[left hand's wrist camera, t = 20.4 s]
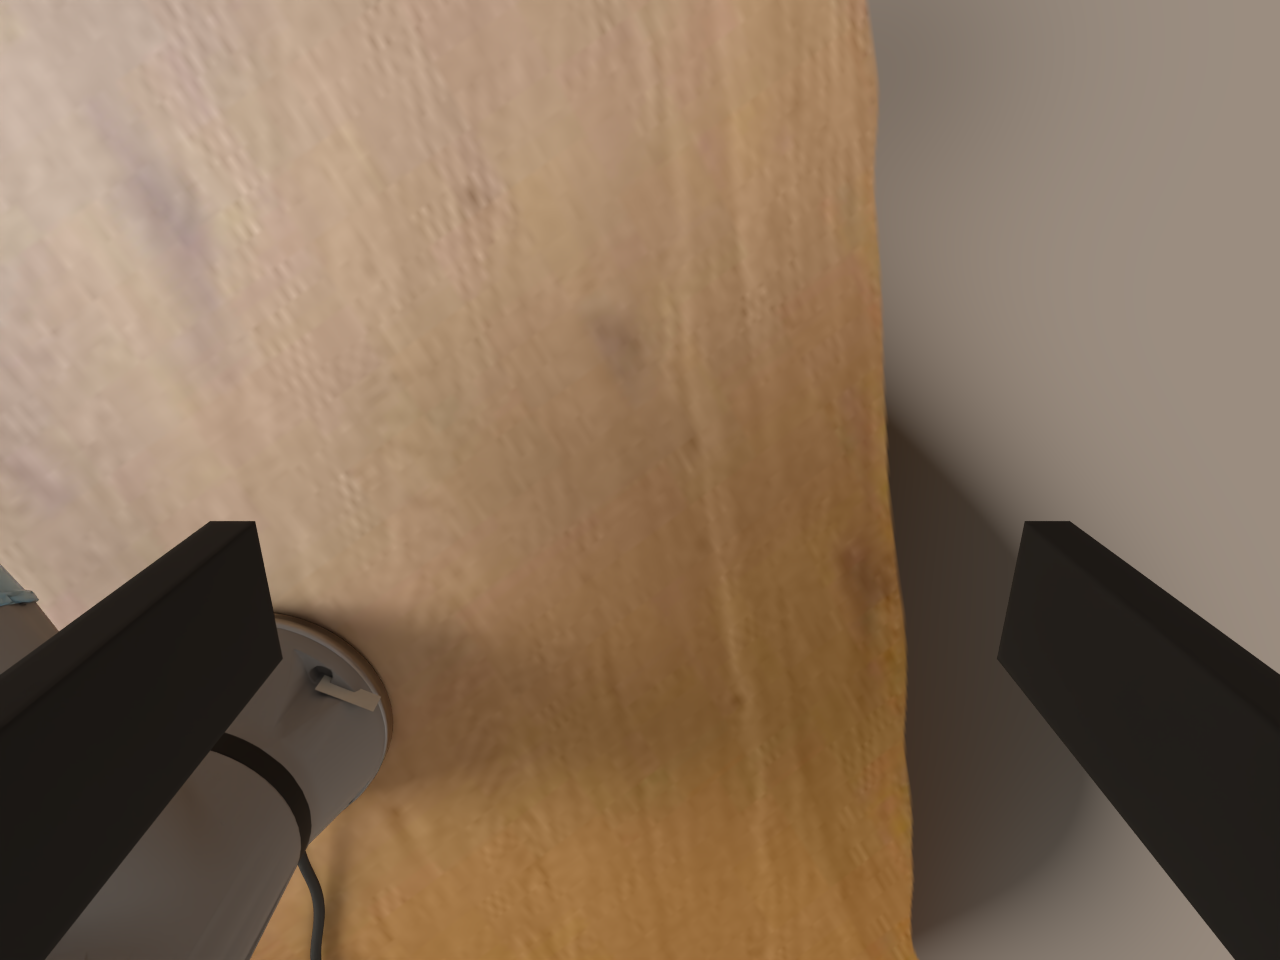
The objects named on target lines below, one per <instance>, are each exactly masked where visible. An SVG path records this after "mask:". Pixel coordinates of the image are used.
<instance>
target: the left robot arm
mask: <svg viewBox="0 0 1280 960" xmlns="http://www.w3.org/2000/svg"><path fill="white" fill-rule="evenodd" d="M38 600H39V599H38V598H37V597H36V595H35V594H34V593H33V592H32V591H29V590H24V588H23V587H22V586H21V585H20V584H19V583H18V582H17V581H16V580H15V579H14V578H13V577H12V576H11V575H10V574H9V573H8V572H7V571H6V570H5V569H4V568H3V566H2V565H1V564H0V960H250V958H251V956H252V954H253V952H254V950H255V948H256V946H257V944H258V942H259V940H260V938H261V936H262V934H263V932H264V930H265V928H266V926H267V925H268V923H269V921H270V919H271V917H272V915H273V913H274V911H275V909H276V907H277V905H278V903H279V901H280V899H281V897H282V895H283V893H284V891H285V889H286V887H287V885H288V883H289V881H290V879H291V877H292V875H293V873H294V871H295V869H296V867H297V865H298V866H299V868H300V871H301V873H302V875H303V877H304V879H305V881H306V883H307V885H308V887H309V890H310V893H311V896H312V901H313V908H314V922H313V932H312V940H311V952H310V958H311V960H321V944H322V935H323V928H324V918H325V907H324V898H323V893H322V889H321V886H320V884H319V881H318V879H317V877H316V875H315V873H314V870H313V868H312V866H311V864H310V862H309V859H308V857H307V854H306V851H305V850H306V848H307V846H308V845H309V844H310V843H311V842H312V841H313V840H314V839H315V838H316V837H317V836H318V835H319V834H320V833H321V832H322V831H323V830H324V829H325V828H326V827H327V826H328V825H329V824H330V823H331V822H332V821H333V820H334V819H335V818H336V817H337V816H338V815H339V814H340V813H341V812H342V811H343V810H344V809H345V808H346V807H347V806H349V805H350V804H351V803H352V802H354V801H355V800H356V799H357V798H358V797H359V796H360V795H361V794H362V793H363V792H364V791H365V789H366V788H367V787H368V785H369V784H370V783H371V781H372V780H373V779H374V777H375V775H376V774H377V772H378V770H379V768H380V766H381V764H382V762H383V760H384V758H385V755H386V753H387V751H388V749H389V745H390V742H391V738H392V731H393V717H392V709H391V704H390V701H389V698H388V695H387V692H386V690H385V688H384V685H383V683H382V682H381V680H380V678H379V676H378V675H377V673H376V672H375V671H374V669H373V668H372V666H371V665H370V664H369V663H368V662H367V661H366V659H365V658H364V657H363V656H362V655H361V654H360V653H359V652H358V651H357V650H355V649H354V648H353V647H352V646H351V645H349V644H348V643H347V642H345V641H344V640H343V639H341V638H340V637H338V636H337V635H335V634H333V633H332V632H330V631H328V630H326V629H324V628H322V627H320V626H318V625H316V624H313V623H311V622H308V621H305V620H303V619H299V618H296V617H292V616H288V615H283V614H277V613H274V612H273V607H272V602H271V597H270V592H269V587H268V582H267V577H266V573H265V568H264V563H263V558H262V553H261V548H260V543H259V538H258V533H257V528H256V523H255V521H210V522H208V523H207V524H206V525H204V526H203V527H202V528H200V529H199V530H198V531H196V532H195V533H193V534H192V535H191V536H189V537H188V538H187V539H185V540H184V541H182V542H181V543H180V544H178V545H177V546H176V547H174V548H173V549H172V550H170V551H169V552H167V553H166V554H165V555H163V556H162V557H161V558H159V559H158V560H156V561H155V562H154V563H152V564H151V565H150V566H148V567H147V568H146V569H144V570H143V571H141V572H140V573H139V574H137V575H136V576H135V577H133V578H132V579H130V580H129V581H128V582H126V583H125V584H124V585H122V586H121V587H120V588H118V589H117V590H115V591H114V592H113V593H111V594H110V595H109V596H107V597H106V598H104V599H103V600H102V601H100V602H99V603H98V604H96V605H95V606H94V607H92V608H91V609H89V610H88V611H87V612H85V613H84V614H83V615H81V616H80V617H78V618H77V619H76V620H74V621H73V622H72V623H70V624H69V625H68V626H66V627H65V628H63V629H62V630H61V631H58V630H57V628H56V627H55V626H54V625H53V623H52V622H51V621H50V620H49V618H48V617H47V616H46V615H45V613H44V612H43V611H42V610H41V608H40V607H39V606H38V604H37V603H36V602H37V601H38ZM997 659H998V661H999V662H1000V663H1001V664H1002V666H1003V667H1004V668H1005V669H1006V671H1007V672H1008V673H1009V674H1010V676H1011V677H1012V678H1013V680H1014V681H1015V682H1016V683H1017V685H1018V686H1019V687H1020V688H1021V690H1022V691H1023V692H1024V693H1025V695H1026V696H1027V697H1028V698H1029V700H1030V701H1031V702H1032V704H1033V705H1034V706H1035V707H1036V709H1037V710H1038V711H1039V712H1040V714H1041V715H1042V716H1043V717H1044V719H1045V720H1046V721H1047V723H1048V724H1049V725H1050V726H1051V728H1052V729H1053V730H1054V731H1055V733H1056V734H1057V735H1058V736H1059V738H1060V739H1061V740H1062V741H1063V743H1064V744H1065V745H1066V746H1067V748H1068V749H1069V750H1070V752H1071V753H1072V754H1073V755H1074V757H1075V758H1076V759H1077V760H1078V762H1079V763H1080V764H1081V766H1082V767H1083V768H1084V769H1085V771H1086V772H1087V773H1088V774H1089V776H1090V777H1091V778H1092V779H1093V781H1094V782H1095V783H1096V784H1097V786H1098V787H1099V788H1100V789H1101V791H1102V792H1103V793H1104V795H1105V796H1106V797H1107V798H1108V800H1109V801H1110V802H1111V803H1112V805H1113V806H1114V807H1115V809H1116V810H1117V811H1118V812H1119V814H1120V815H1121V816H1122V817H1123V819H1124V820H1125V821H1126V822H1127V824H1128V825H1129V826H1130V827H1131V829H1132V830H1133V831H1134V833H1135V834H1136V835H1137V836H1138V838H1139V839H1140V840H1141V841H1142V843H1143V844H1144V845H1145V846H1146V848H1147V849H1148V850H1149V852H1150V853H1151V854H1152V855H1153V857H1154V858H1155V859H1156V860H1157V862H1158V863H1159V864H1160V865H1161V867H1162V868H1163V869H1164V870H1165V872H1166V873H1167V874H1168V876H1169V877H1170V878H1171V879H1172V881H1173V882H1174V883H1175V884H1176V886H1177V887H1178V888H1179V889H1180V891H1181V892H1182V893H1183V894H1184V896H1185V897H1186V898H1187V900H1188V901H1189V902H1190V903H1191V905H1192V906H1193V907H1194V908H1195V910H1196V911H1197V912H1198V913H1199V915H1200V916H1201V917H1202V919H1203V920H1204V921H1205V922H1206V924H1207V925H1208V926H1209V927H1210V929H1211V930H1212V931H1213V932H1214V934H1215V935H1216V936H1217V937H1218V939H1219V940H1220V941H1221V943H1222V944H1223V945H1224V946H1225V948H1226V949H1227V950H1228V951H1229V953H1230V954H1231V955H1232V956H1233V958H1234V959H1235V960H1280V674H1278V673H1277V672H1275V671H1274V670H1273V669H1271V668H1270V667H1269V666H1267V665H1266V664H1264V663H1263V662H1262V661H1260V660H1259V659H1258V658H1256V657H1255V656H1254V655H1252V654H1251V653H1249V652H1248V651H1247V650H1245V649H1244V648H1243V647H1241V646H1240V645H1238V644H1237V643H1236V642H1234V641H1233V640H1232V639H1230V638H1229V637H1228V636H1226V635H1225V634H1223V633H1222V632H1221V631H1219V630H1218V629H1217V628H1215V627H1214V626H1212V625H1211V624H1210V623H1208V622H1207V621H1206V620H1204V619H1203V618H1202V617H1200V616H1199V615H1197V614H1196V613H1195V612H1193V611H1192V610H1191V609H1189V608H1188V607H1186V606H1185V605H1184V604H1182V603H1181V602H1180V601H1178V600H1177V599H1176V598H1174V597H1173V596H1171V595H1170V594H1169V593H1167V592H1166V591H1165V590H1163V589H1162V588H1160V587H1159V586H1158V585H1156V584H1155V583H1154V582H1152V581H1151V580H1150V579H1148V578H1147V577H1145V576H1144V575H1143V574H1141V573H1140V572H1139V571H1137V570H1136V569H1134V568H1133V567H1132V566H1130V565H1129V564H1128V563H1126V562H1125V561H1124V560H1122V559H1121V558H1119V557H1118V556H1117V555H1115V554H1114V553H1113V552H1111V551H1110V550H1108V549H1107V548H1106V547H1104V546H1103V545H1101V544H1100V543H1099V542H1097V541H1096V540H1095V539H1093V538H1092V537H1091V536H1089V535H1088V534H1087V533H1085V532H1084V531H1082V530H1081V529H1080V528H1078V527H1077V526H1076V525H1074V524H1073V523H1072V522H1070V521H1025V523H1024V528H1023V533H1022V538H1021V543H1020V548H1019V553H1018V558H1017V563H1016V568H1015V573H1014V578H1013V582H1012V588H1011V592H1010V597H1009V602H1008V607H1007V612H1006V617H1005V622H1004V627H1003V632H1002V637H1001V642H1000V647H999V652H998V656H997Z"/></svg>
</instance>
